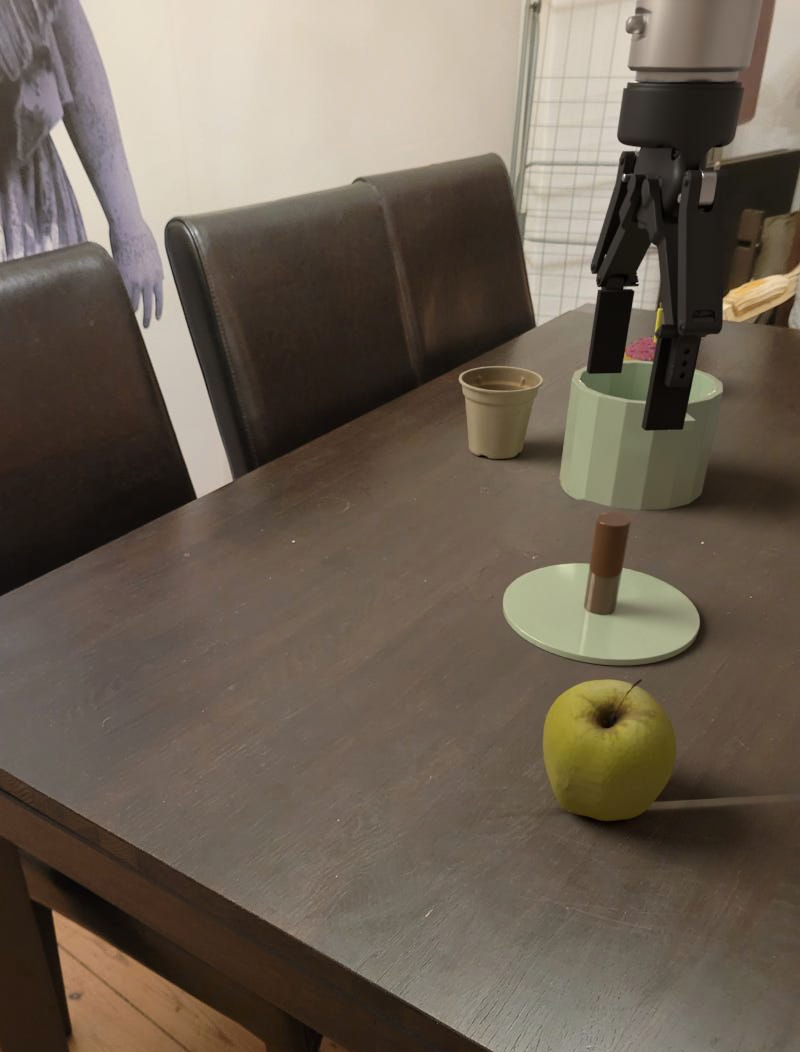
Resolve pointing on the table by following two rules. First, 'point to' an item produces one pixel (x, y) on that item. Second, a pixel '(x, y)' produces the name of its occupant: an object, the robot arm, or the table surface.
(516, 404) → the flower pot
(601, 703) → the apple
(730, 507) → the table surface
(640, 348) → the cupcake
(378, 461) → the table surface
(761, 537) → the table surface
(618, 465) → the pot
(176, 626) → the table surface
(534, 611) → the pot lid
